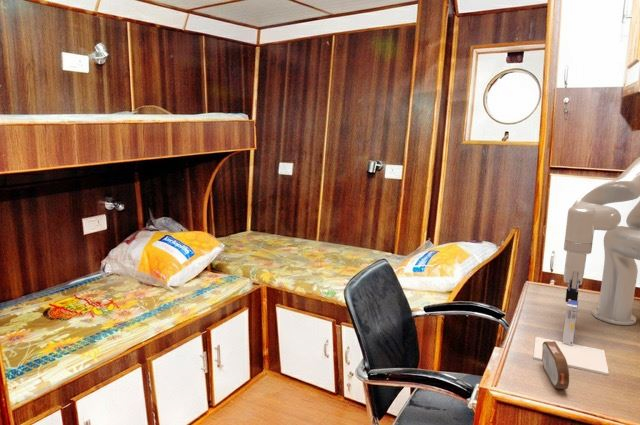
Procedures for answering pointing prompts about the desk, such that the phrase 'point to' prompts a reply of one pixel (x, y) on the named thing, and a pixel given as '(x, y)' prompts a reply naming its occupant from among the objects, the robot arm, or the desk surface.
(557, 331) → the desk surface
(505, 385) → the desk surface
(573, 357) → the mat
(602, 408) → the desk surface
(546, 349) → the tin
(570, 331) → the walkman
